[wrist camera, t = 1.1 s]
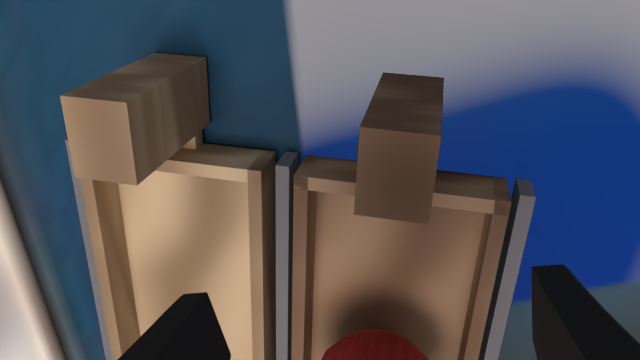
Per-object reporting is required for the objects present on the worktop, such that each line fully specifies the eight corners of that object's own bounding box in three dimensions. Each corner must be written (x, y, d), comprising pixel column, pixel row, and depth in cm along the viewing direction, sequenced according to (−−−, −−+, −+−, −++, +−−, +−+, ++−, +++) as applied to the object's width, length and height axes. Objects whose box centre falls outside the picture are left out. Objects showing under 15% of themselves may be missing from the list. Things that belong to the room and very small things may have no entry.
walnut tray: (525, 84, 21) (553, 147, 15) (457, 415, 29) (459, 537, 23) (308, 66, 22) (260, 116, 17) (300, 384, 30) (266, 493, 25)
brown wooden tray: (530, 179, 23) (536, 197, 21) (473, 433, 29) (474, 459, 28) (85, 128, 26) (65, 139, 25) (125, 364, 33) (110, 384, 32)
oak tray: (275, 63, 23) (217, 112, 17) (276, 380, 31) (236, 486, 25) (90, 47, 24) (-22, 87, 18) (136, 353, 32) (68, 447, 26)
